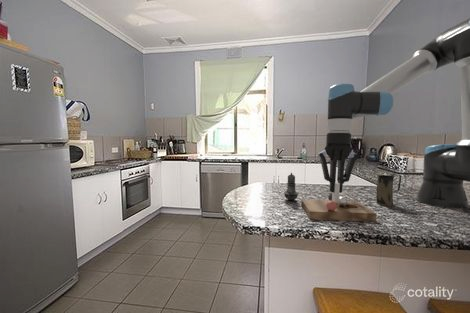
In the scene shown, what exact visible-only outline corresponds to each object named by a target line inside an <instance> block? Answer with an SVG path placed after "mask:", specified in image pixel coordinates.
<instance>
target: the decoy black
mask: <svg viewBox="0 0 470 313" xmlns="http://www.w3.org/2000/svg"><path fill="white" fill-rule="evenodd" d="M328 200H330V201H332V192H330V193H329V194H328Z"/></svg>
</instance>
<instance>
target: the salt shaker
mask: <svg viewBox="0 0 470 313" xmlns="http://www.w3.org/2000/svg"><path fill="white" fill-rule="evenodd" d="M296 184H297V183H296V176H295V175H294V174H293V173H292V172H290V174H288V176H287V183H286V185H287V189H286V191H284V192H283V194H284V198H286V199H285V200H283V201H284V203H286V204H298V202H299V201H298V200H296V199H297V198H298V196H299V192H297V191H296Z"/></svg>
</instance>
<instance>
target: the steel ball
mask: <svg viewBox="0 0 470 313" xmlns="http://www.w3.org/2000/svg"><path fill="white" fill-rule="evenodd" d="M347 201H348V200H347V198H346V197H344V196H339V203H338V205H340V206H345V205H347Z"/></svg>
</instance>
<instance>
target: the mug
mask: <svg viewBox="0 0 470 313" xmlns="http://www.w3.org/2000/svg"><path fill="white" fill-rule="evenodd" d="M396 175H397V176H398V177H399V178H398V186H397V189H396V190H394V188H393V187H394V179H395V176H396ZM376 183H377V184H376V193H375V194H376V196H375V197H376V205H379V206H383V207H393V206H394V198H393V196H394V194H393V193H398V192H400V188H401V183H402V175H401V174H398V173H392V174H391V175H387V174H385V175H383V174H379V175H378V177H377V182H376Z"/></svg>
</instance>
